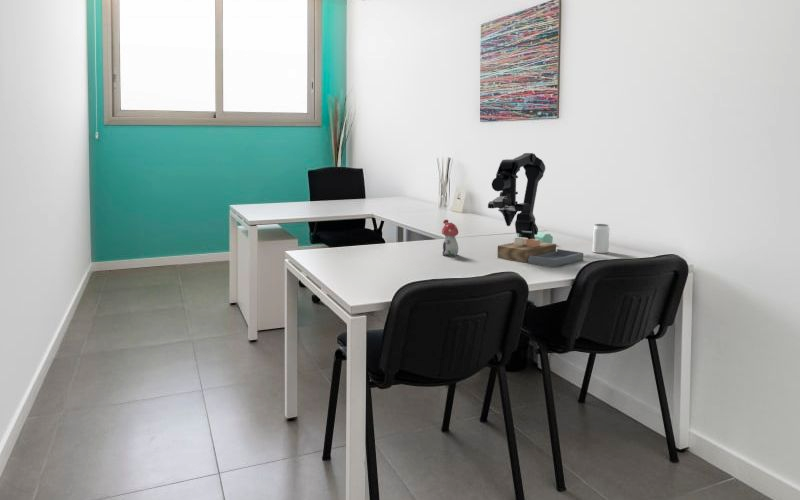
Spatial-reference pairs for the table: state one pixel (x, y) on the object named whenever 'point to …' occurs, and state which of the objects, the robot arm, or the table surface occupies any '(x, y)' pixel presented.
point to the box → (556, 258)
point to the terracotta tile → (533, 242)
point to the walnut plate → (524, 251)
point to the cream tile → (520, 241)
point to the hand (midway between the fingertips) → (508, 226)
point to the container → (543, 237)
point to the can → (600, 238)
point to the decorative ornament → (450, 239)
